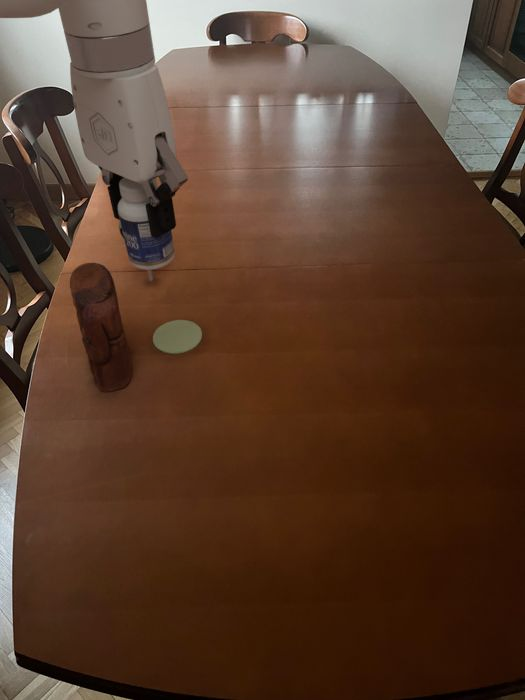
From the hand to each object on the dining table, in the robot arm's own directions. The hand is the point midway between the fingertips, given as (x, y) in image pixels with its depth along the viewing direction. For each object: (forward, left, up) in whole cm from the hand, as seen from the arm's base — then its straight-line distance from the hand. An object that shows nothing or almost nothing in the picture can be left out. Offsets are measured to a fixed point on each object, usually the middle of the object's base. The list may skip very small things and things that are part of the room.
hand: (144, 221), depth 66 cm
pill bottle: (0, 0, -5) cm, 5 cm away
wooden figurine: (-2, +13, -30) cm, 32 cm away
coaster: (+9, +10, -30) cm, 32 cm away
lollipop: (+17, +25, -30) cm, 43 cm away
